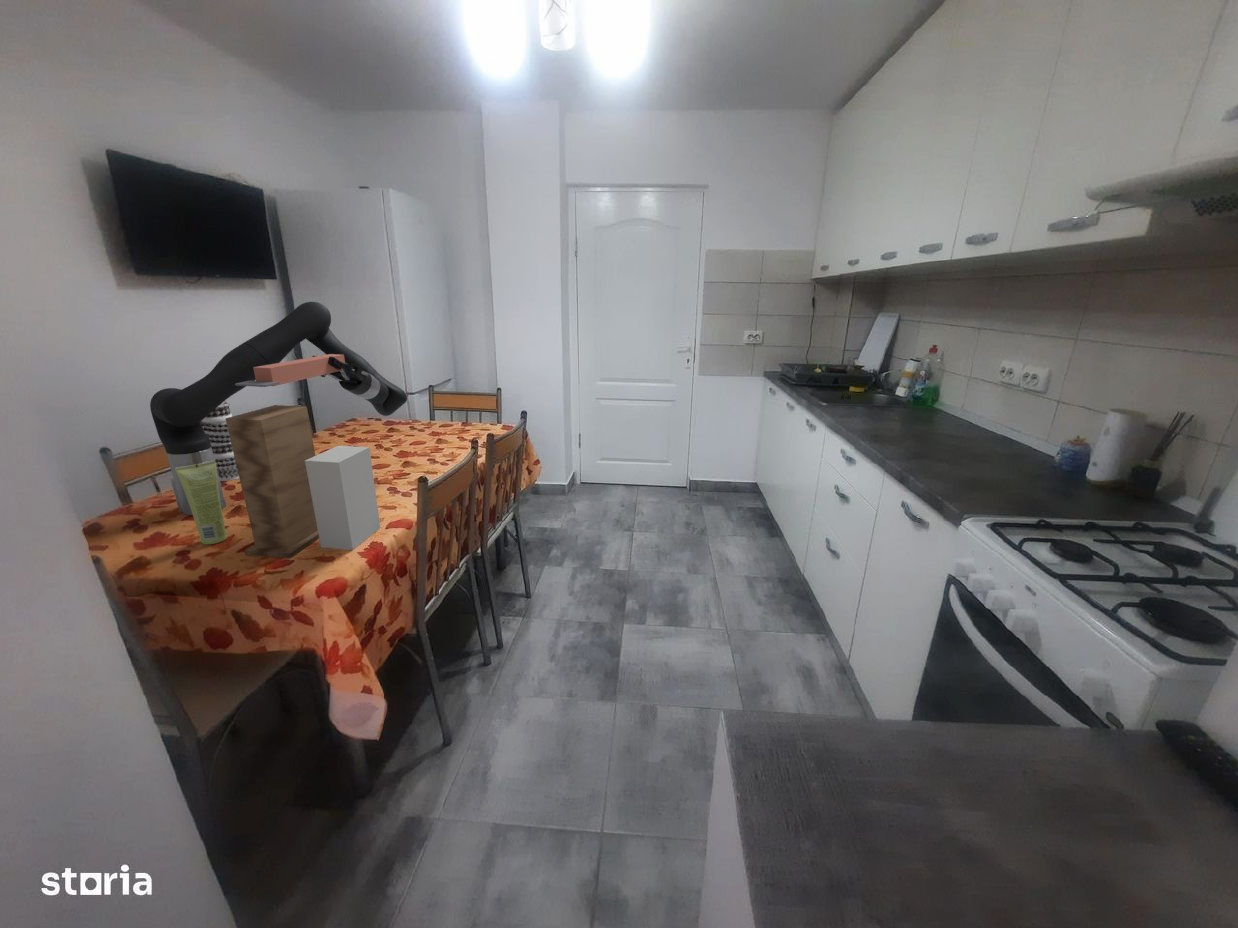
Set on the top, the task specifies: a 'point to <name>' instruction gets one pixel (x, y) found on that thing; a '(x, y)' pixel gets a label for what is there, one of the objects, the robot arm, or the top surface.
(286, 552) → the stand
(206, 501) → the tube
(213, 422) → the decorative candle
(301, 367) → the scraper
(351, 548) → the light grey rectangular block
